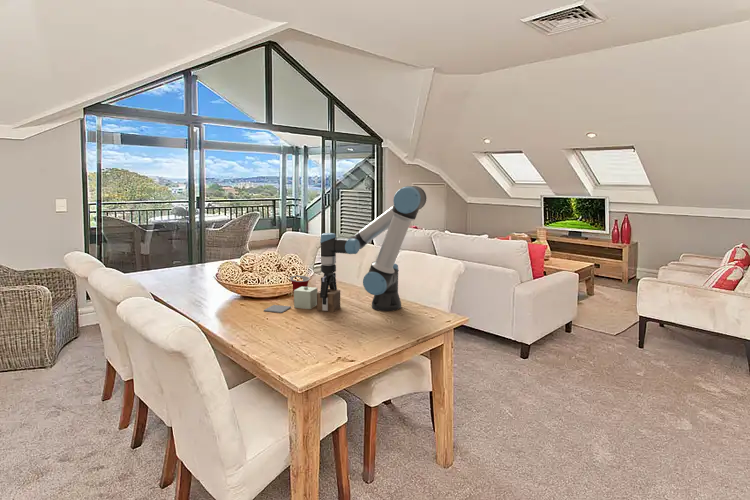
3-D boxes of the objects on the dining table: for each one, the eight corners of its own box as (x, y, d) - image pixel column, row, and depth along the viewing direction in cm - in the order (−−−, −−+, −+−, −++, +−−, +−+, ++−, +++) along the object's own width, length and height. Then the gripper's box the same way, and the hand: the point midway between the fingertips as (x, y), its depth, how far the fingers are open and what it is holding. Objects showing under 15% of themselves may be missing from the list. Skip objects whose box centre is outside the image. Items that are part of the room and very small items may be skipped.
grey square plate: (291, 307, 242) (291, 306, 242) (281, 313, 233) (281, 311, 233) (273, 305, 245) (273, 304, 245) (263, 311, 236) (263, 310, 236)
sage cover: (317, 304, 248) (317, 285, 247) (310, 309, 240) (310, 289, 238) (301, 303, 251) (301, 284, 249) (294, 307, 242) (293, 288, 241)
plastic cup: (296, 302, 252) (296, 280, 250) (286, 298, 260) (286, 277, 258) (314, 299, 258) (313, 277, 257) (304, 295, 267) (303, 274, 265)
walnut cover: (340, 307, 244) (340, 288, 242) (333, 311, 235) (333, 292, 234) (324, 305, 246) (323, 286, 245) (317, 310, 238) (316, 290, 236)
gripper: (329, 260, 248) (330, 301, 252) (312, 267, 228) (313, 313, 231) (343, 260, 246) (343, 302, 250) (326, 268, 226) (327, 314, 229)
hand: (328, 307), depth 241 cm, fingers closed on walnut cover, 9 cm apart
